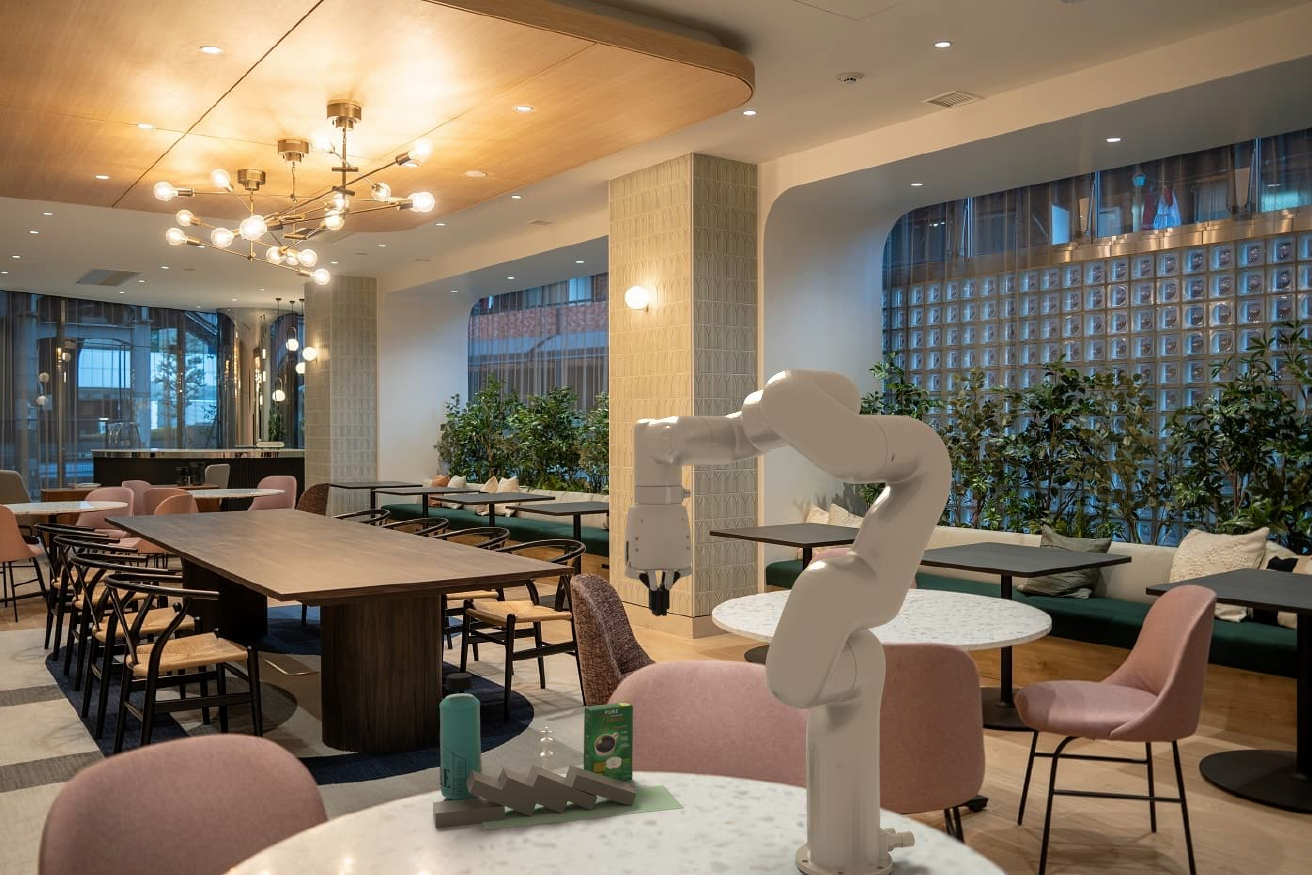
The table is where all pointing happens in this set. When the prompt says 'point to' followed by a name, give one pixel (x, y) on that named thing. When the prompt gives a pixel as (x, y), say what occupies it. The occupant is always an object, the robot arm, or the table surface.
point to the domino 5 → (600, 785)
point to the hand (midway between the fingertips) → (659, 614)
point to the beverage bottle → (459, 737)
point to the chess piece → (546, 749)
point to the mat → (643, 802)
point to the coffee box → (609, 740)
